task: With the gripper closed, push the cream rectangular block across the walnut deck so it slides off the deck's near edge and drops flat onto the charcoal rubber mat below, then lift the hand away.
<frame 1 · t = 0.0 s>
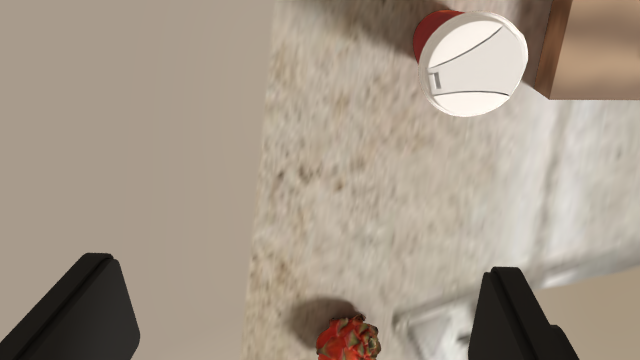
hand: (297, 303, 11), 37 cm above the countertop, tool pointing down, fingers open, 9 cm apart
paper cup: (441, 39, 42), on the countertop
dragon fruit: (347, 329, 62), on the countertop
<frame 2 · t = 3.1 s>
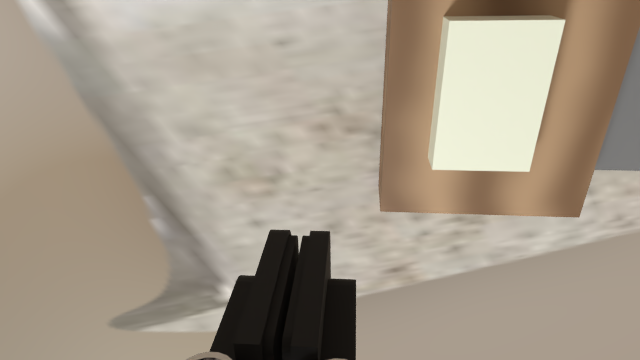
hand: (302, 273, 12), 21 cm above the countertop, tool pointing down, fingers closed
deck: (488, 47, 29), on the countertop
cream rectangular block: (483, 92, 26), point 4 cm above the countertop, touching deck
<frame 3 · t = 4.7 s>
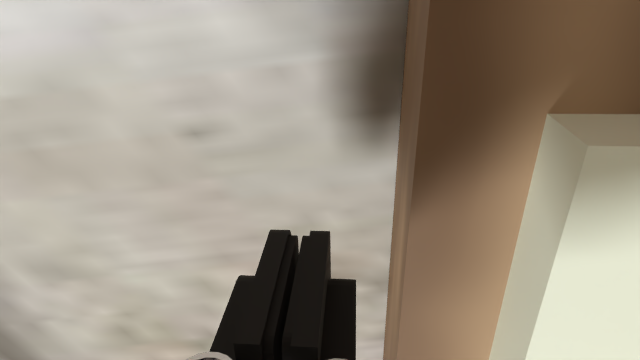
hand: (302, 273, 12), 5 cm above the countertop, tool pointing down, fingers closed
deck: (604, 147, 14), on the countertop
cream rectangular block: (621, 267, 12), point 4 cm above the countertop, touching deck
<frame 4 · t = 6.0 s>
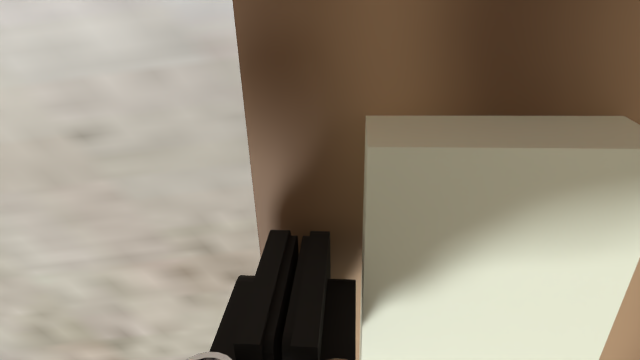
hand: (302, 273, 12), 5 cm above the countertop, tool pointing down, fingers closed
deck: (476, 147, 15), on the countertop
cream rectangular block: (466, 265, 12), point 4 cm above the countertop, touching deck, gripper
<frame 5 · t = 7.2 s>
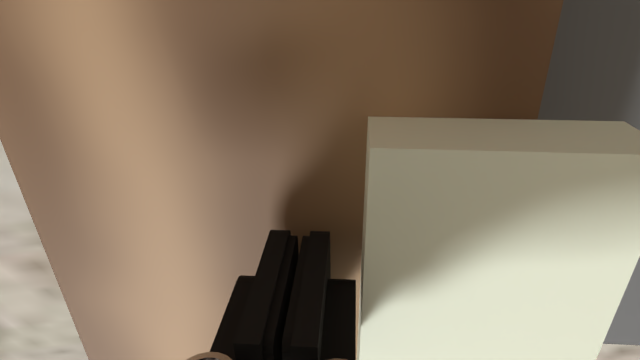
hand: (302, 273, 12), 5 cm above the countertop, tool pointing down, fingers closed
deck: (281, 144, 15), on the countertop
cream rectangular block: (465, 267, 12), point 4 cm above the countertop, touching gripper
mat: (607, 172, 15), on the countertop
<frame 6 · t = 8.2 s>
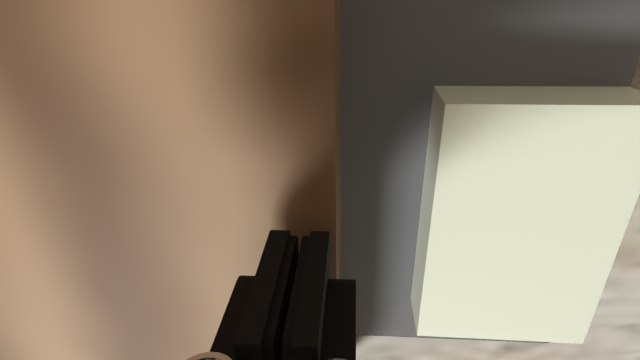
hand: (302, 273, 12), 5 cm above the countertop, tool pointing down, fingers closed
deck: (152, 144, 16), on the countertop
cream rectangular block: (523, 239, 14), point 2 cm above the countertop, tilted 180°, touching mat
mat: (465, 172, 15), on the countertop
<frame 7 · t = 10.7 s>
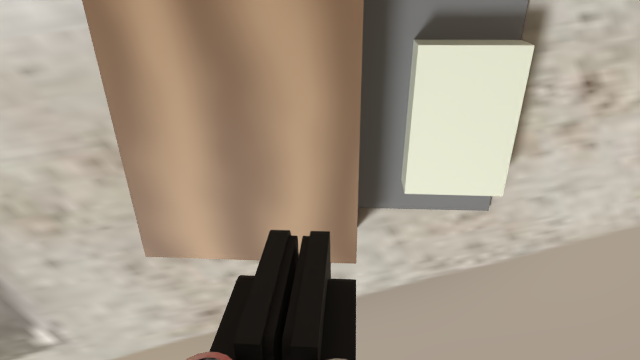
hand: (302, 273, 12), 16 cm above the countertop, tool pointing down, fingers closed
deck: (247, 77, 26), on the countertop
cream rectangular block: (463, 126, 24), point 2 cm above the countertop, tilted 180°, touching mat
mat: (433, 94, 26), on the countertop
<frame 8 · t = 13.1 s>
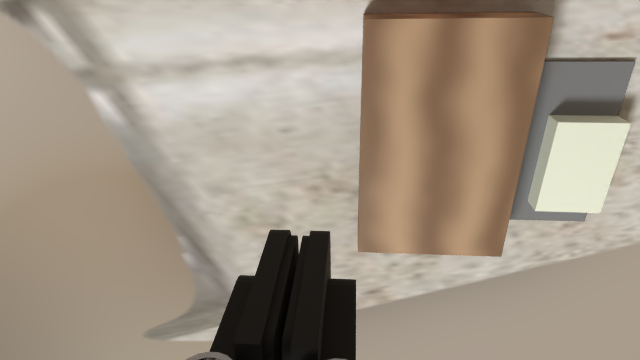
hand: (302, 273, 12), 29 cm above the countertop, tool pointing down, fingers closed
deck: (433, 135, 40), on the countertop
cream rectangular block: (580, 169, 38), point 2 cm above the countertop, tilted 180°, touching mat
mat: (555, 147, 40), on the countertop
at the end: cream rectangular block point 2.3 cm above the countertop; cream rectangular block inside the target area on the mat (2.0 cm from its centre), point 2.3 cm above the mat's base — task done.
